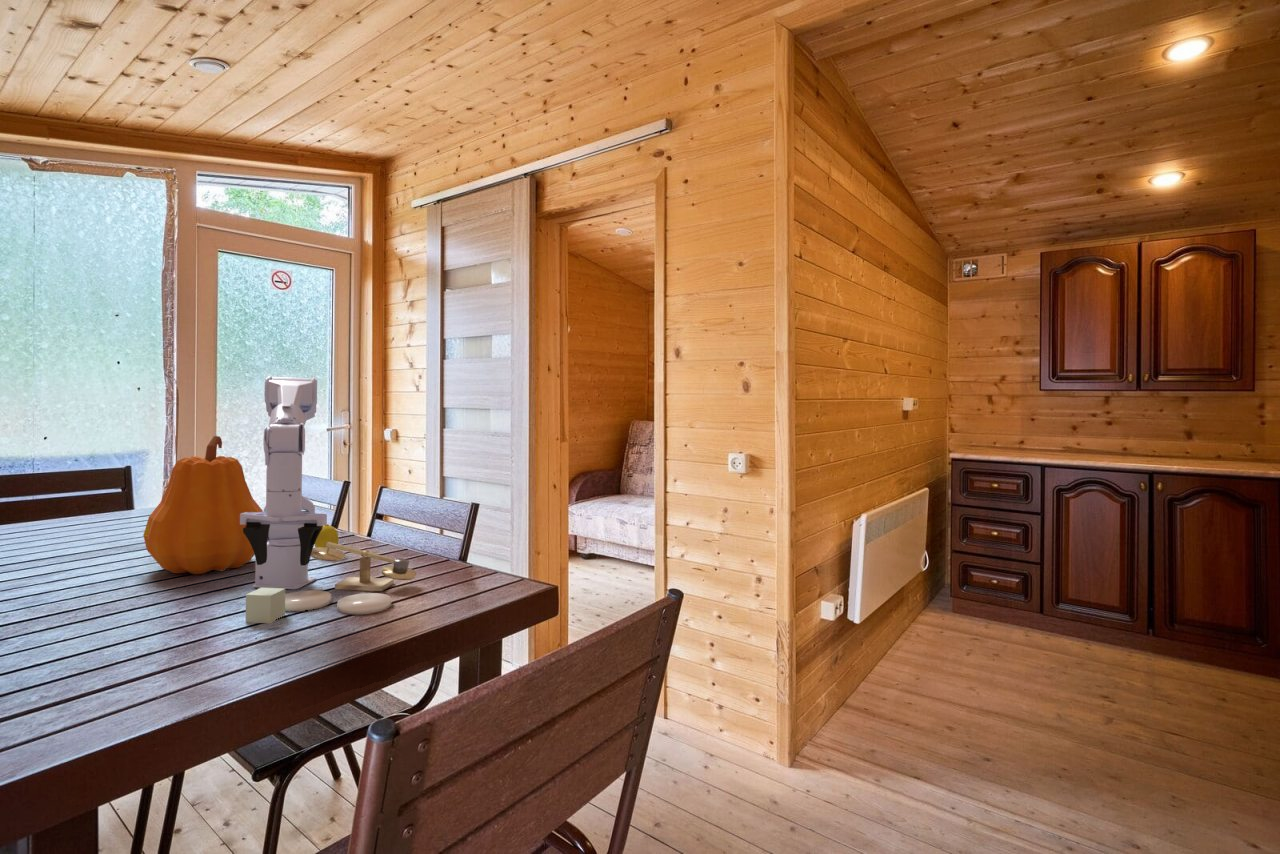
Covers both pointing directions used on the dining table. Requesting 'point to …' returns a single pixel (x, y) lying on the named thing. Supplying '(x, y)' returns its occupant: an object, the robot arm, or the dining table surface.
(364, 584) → the balance stand
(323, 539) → the lemon
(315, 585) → the dining table surface
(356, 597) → the dish right
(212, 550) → the decorative pumpkin
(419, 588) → the dining table surface
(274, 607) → the block
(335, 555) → the balance beam
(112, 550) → the dining table surface
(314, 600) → the dish left
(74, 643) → the dining table surface
